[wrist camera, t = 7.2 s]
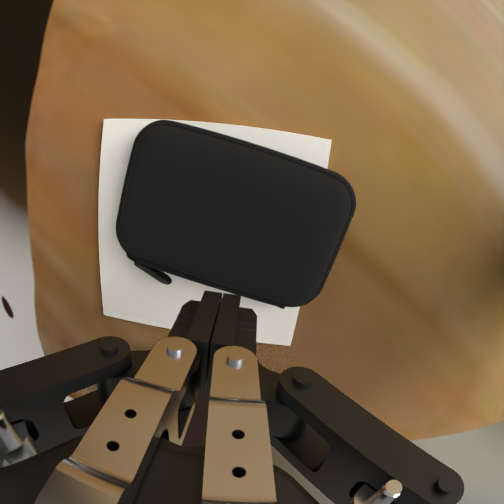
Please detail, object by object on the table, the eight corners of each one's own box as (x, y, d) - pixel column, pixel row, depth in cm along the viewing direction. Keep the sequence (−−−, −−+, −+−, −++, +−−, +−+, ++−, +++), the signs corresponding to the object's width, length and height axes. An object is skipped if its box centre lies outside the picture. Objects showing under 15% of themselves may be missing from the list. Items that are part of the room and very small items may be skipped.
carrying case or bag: (307, 336, 20) (101, 271, 19) (302, 314, 23) (119, 256, 22) (372, 186, 17) (133, 111, 16) (357, 181, 20) (150, 115, 19)
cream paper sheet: (329, 140, 19) (331, 140, 19) (289, 341, 25) (290, 345, 24) (107, 119, 19) (104, 118, 19) (106, 311, 25) (103, 315, 24)
